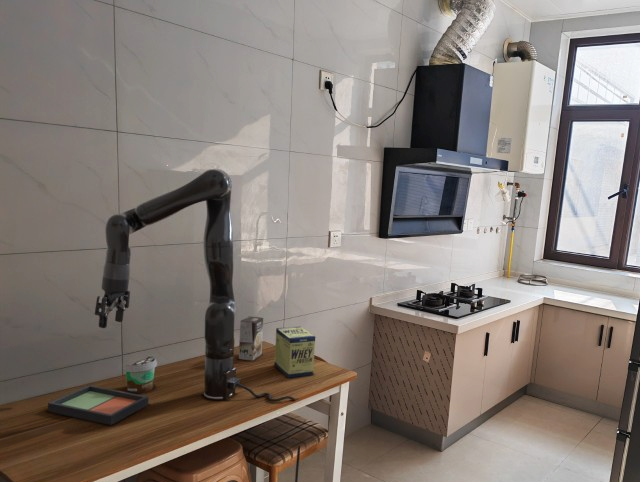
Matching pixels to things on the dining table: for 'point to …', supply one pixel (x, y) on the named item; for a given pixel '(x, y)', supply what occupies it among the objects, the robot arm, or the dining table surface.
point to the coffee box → (250, 338)
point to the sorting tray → (98, 404)
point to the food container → (141, 375)
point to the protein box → (294, 351)
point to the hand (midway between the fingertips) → (110, 324)
